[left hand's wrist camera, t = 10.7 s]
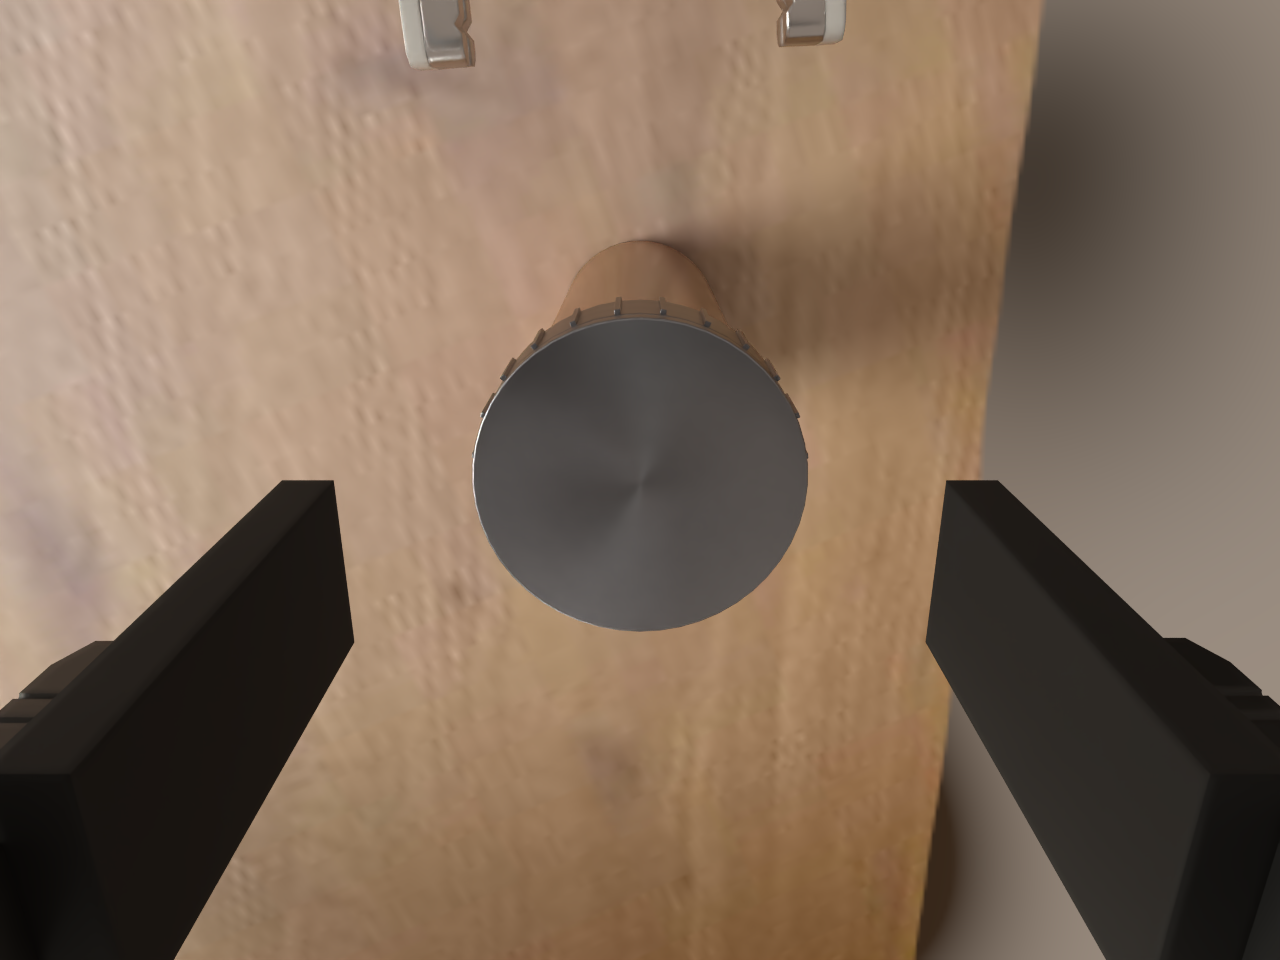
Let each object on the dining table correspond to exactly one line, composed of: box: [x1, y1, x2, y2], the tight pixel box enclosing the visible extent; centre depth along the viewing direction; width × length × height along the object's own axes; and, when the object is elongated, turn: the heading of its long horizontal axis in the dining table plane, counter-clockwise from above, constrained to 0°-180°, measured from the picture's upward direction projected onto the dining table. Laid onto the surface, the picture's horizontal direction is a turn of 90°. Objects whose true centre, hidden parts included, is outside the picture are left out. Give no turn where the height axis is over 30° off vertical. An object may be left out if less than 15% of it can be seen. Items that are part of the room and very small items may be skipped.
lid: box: [472, 297, 808, 631], centre depth 18 cm, size 6×6×2 cm
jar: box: [552, 241, 729, 327], centre depth 25 cm, size 5×5×16 cm
